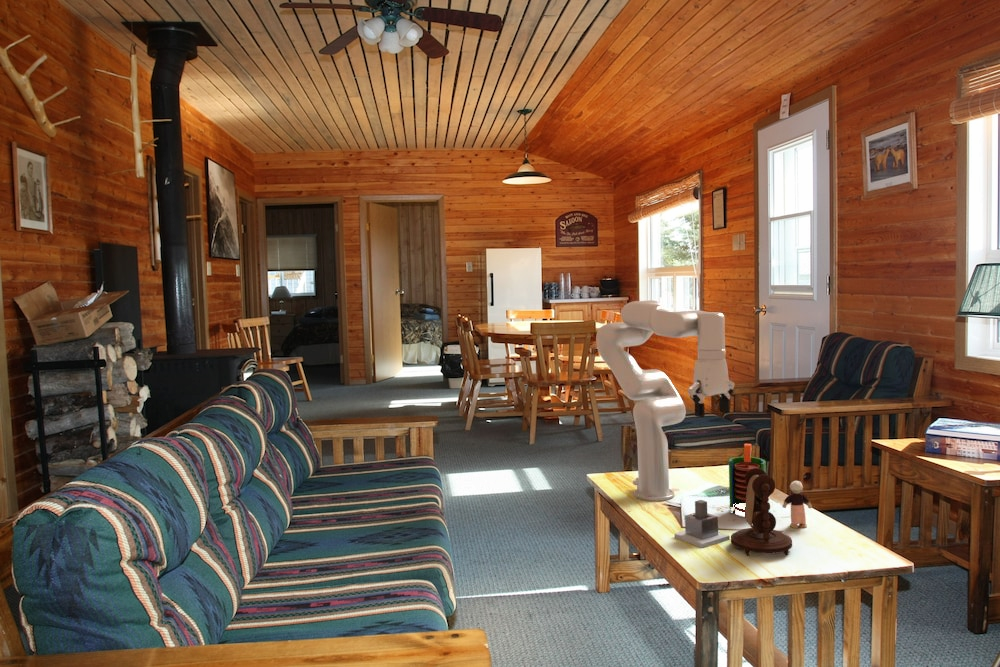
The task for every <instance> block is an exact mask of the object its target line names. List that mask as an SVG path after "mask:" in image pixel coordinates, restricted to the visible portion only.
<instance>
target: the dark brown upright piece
mask: <svg viewBox="0 0 1000 667" xmlns="http://www.w3.org/2000/svg"><path fill="white" fill-rule="evenodd" d="M745 482H746V484H747V485H748V488H747V494H746V507H745V517H746V518H745V517H744V518H745V520H746V523H747V524H748V525H749V527H747V528H743V529H739V530H737V531H735V532H734V533H732V534H731V535H730V543H731V544H732V545H733V547H735V548H737V549H740V550H743V551H744V553H745V556H747V557H748V556H750V553H757V554H777V553H778V554H779V553H780V554H781V553H784V555H786V556H787V555H788V554H789V550H791V549H792V547H793V539H792V538H791V537H790V536H789V535H787V534H785V533H783V532H782V531H779V530H776V529H775V528H776V525H777V518H776V517H775V515H774V514H773V513H772V512H770V509H771V503H770V502H769V500H770V498H769V497H770V496H771V495H772V494H773V493H774V492H775V489H776V482H775V480H774V479H773V477H772V476H770V475H768V474H767V472H766V473H765V471H763V470H762V469H760V468H753V469H750V470H749V471H748V472H747V473H746V476H745ZM757 502H758V503H757Z"/></svg>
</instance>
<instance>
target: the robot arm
mask: <svg viewBox="0 0 1000 667" xmlns="http://www.w3.org/2000/svg"><path fill="white" fill-rule="evenodd" d="M620 318H621V321H616V322H608V323H605V324H603V325H602V326H600V328H598V330H597V332H596V334H595V335H596V337H595V340H596V341H595V343H596V348H597V352H598V354H599V355H600V357H601V358H602V360H603V361H604V363H605V364H606V365H607V367H608V368H609V369H610V370H611V372H612V373H613V376H614V377H615V379H616V381H617V382H618V385H619V386H620V387H621V390H622V391H623V393H624V395H625V396H626V397H627V398H628V399H629V400H631V401H637V402H636V403H635V405H634V407H633V411H632V415H633V416H632V417H633V420H634V426H635V431H636V443H637V472H638V475H637V477H636V478H635V479H634V480H633V481H632V484H633V485H634V486H636V489H635V490H634V492H633V495H634V497H635V498H637V499H639V500H643V501H650V502H652V501H653V502H654V501H655V502H660V501H667V500H670V499H672V498H674V496H675V491H673V490H672V489H670V483H669V482H670V476H669V445H668V439H667V435H666V434H665V432H664V431H663V428H662V427H666V426H667V427H668V426H672V425H675V424H676V425H677V424H679V423H682V421H684V419H685V418H686V414H687V412H686V411H687V410H686V405H685V402H684V401H683V399H682V397H681V395H680V394H679V392H678V390H677V389H676V388H675V385H674V384H673V383H672V381H671V379H670V377H668V376H667V374H666V373H665V372H664V371H662V370H660V369H655V368H651V369H642V368H641V367H640V365H639V364H638V362H637V361H636V359H635V358H634V357H633V355H631V354H630V353H629V352H628V351H626V350H624V349H623V348H626V347H638V346H640V345H643V344H644V343H645V342H647V341H648V340H649V339H650V338H651V336H652V335H653V334H654V335H657V336H660V337H667V338H672V339H675V338H676V339H680V338H689V337H697V360H695V363H694V370H693V377H692V378H693V379H692V381H693V382H692V385H691V386H689V387H688V388H687V391H688V394H689V398H690V399H691V400H692V402H693V403H694V416H695V417H699V418H705V416H706V415H705V403H704V401H705V399H706V397H712V396H719V397H718V398H719V401H718V402H719V403H718V404H719V405H718V406H719V407H718V408H719V412H720V413H724V414H730V400H731V398H732V394H733V393H734V388H735V386H736V385H735V382H733V380H730V378H729V369H728V363H727V359H726V354H727V350H726V337H725V336H726V331H725V330H726V328H725V327H726V323H725V322H726V321H725V320H726V319H725V315H724V314H723V313H722V312H717V311H705V310H699V309H698V310H685V311H669V309H668V307H666V306H665V305H664V304H663V305H662V303H661V302H660V301H657V300H652V299H651V300H635V301H630V302H628V303H626V304H625V305H623V307H622V308H621V311H620Z"/></svg>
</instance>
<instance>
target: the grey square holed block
mask: <svg viewBox="0 0 1000 667" xmlns="http://www.w3.org/2000/svg"><path fill="white" fill-rule="evenodd" d="M684 525H685V526H684V527H685V528H684V531H685V534H687V535H690V536H693V537H695V538H698V539H701V540H704V539H707V538H710V537H714V536H717V535H718V532H719V517H718V516H717V515H714V514H711V513H708V512H707V518H704V519H700V518H697V517H695V512H694V513H690V514H686V515H684Z"/></svg>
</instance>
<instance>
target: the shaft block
mask: <svg viewBox="0 0 1000 667" xmlns="http://www.w3.org/2000/svg"><path fill="white" fill-rule="evenodd" d="M694 513H695V517H697V518H700V519H704V518H707V513H708V501H706V500H703V499H699V500H695V501H694ZM674 538H676V539H678V540H682V541H683V542H687V543H689V544H692V545H694V546H698V547H700V548H706V547H709V546H712V545H716V544H720V543H723V542H725V541H729V540H731V535H729V534H726V533H724V532H720V531H718V535H717V536H714V537H710V538H707V539H704V540H701V539H698V538H695V537H693V536H690V535H687V534H685V530H683V531H679V532H675V533H674Z"/></svg>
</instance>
